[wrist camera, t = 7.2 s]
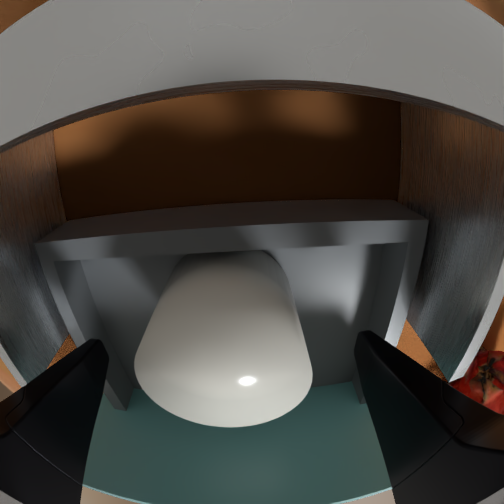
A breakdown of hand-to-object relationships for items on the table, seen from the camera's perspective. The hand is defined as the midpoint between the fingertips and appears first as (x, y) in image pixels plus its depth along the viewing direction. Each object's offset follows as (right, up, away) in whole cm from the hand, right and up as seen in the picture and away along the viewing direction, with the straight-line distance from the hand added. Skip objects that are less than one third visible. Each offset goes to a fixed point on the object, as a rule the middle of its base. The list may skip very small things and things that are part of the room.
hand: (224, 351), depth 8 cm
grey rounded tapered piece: (0, +1, +3) cm, 3 cm away
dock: (0, +6, +2) cm, 6 cm away
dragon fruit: (+20, -7, +9) cm, 23 cm away
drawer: (0, +1, +4) cm, 4 cm away
